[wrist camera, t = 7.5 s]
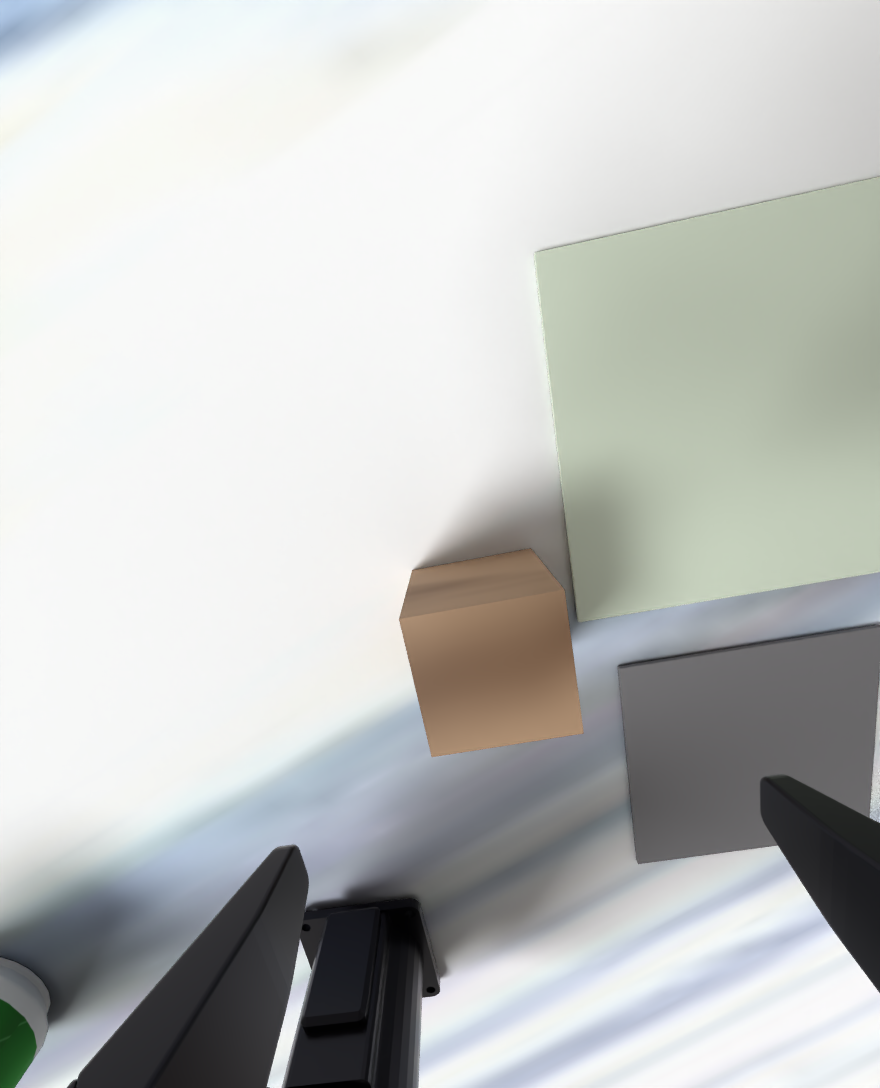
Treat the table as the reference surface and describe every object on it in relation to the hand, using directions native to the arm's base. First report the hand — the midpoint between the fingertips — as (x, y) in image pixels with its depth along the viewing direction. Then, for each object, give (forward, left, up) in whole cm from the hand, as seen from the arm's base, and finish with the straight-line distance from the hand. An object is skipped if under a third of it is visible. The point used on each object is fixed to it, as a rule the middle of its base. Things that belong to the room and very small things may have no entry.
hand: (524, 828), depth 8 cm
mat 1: (+6, -11, -10) cm, 16 cm away
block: (0, 0, -10) cm, 10 cm away
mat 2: (-9, -11, -10) cm, 17 cm away
